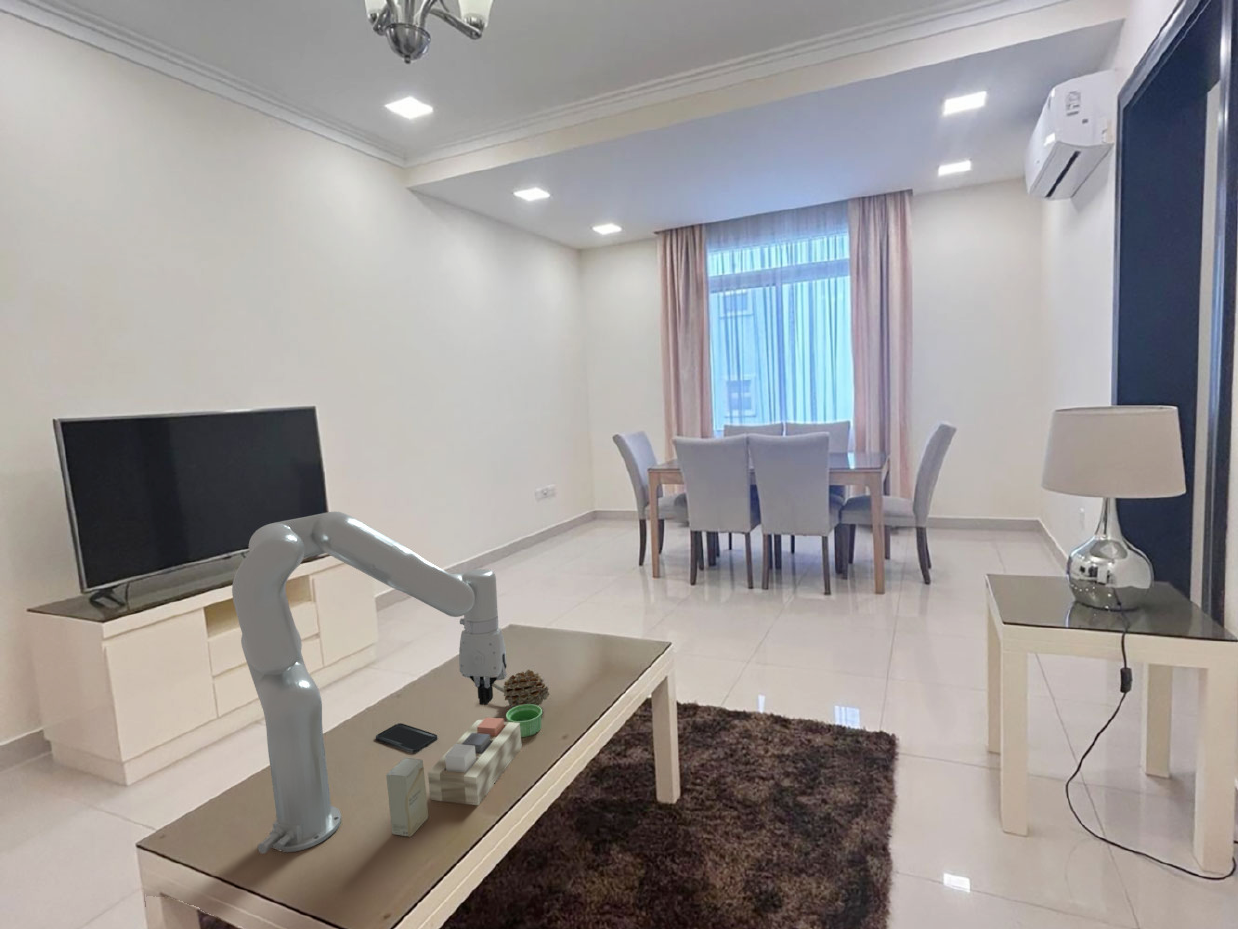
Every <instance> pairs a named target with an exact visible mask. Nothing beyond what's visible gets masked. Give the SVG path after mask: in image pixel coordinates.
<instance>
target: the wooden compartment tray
mask: <svg viewBox="0 0 1238 929" xmlns="http://www.w3.org/2000/svg"><path fill="white" fill-rule="evenodd" d="M483 720H484V719H477V720H476V721H475V722H474V723H473V724H472V725H471V726H469V728H468V729H467V730H466V731H465V732H464V734H463V735H461V736H460V738H459V739H457V741H455V743H454V744H453V745H452V746H451V747H450V748H449V750H447V752H445V754H444V755H443V756H442V757H441V758H440V759H439V760H438V761H437V762H436V763H435V764H434V765H433V767H431V769H430V770H428V772H427V776H428V777H427V778H428V788H429V799H430V800H432V801H439V802H445V803H454V804H455V803H456V804H462V805H463V804H464V805H472V806H480V804H481V803H480V802H482V801H483V800H484V799H485V797H486V796H485V795H488V793H489V792H490V790H491V789H492V788H493V787H494V785H495V784H496V782H497V781H498V780H499V779H500V777H501V776H502V774H503V773H504V772H505V770H506V769H507V768H508V766H509V765H510V764H511V762H512V761H513V759H514V758H515V757H516V755H517V754H518V752H519V751H520V750H521V749H522V747H523V746H522V744H523V743H522V737H521V732H520V723H515V722H508V721H504V729H503V730H502V731H501V732H500V734H499V735H498V736H497V737H491V736H490V740H491V744H490V746H489V747H488V748H487V749H486V750H485V751H484V753H483V754H477V753H475V754H476V762H475V763H474V765H473V766H472V767H471V768H470V769H469V771H468V772H467V773H464V772H455V771H446V761H445V755H446V754H447V753H448V752H449V751H450V750H451V749H452V747H453V746H454V745H455V744H462V743H463V742H464V741H465V740H466V739H467V738H468V736H469V735H470V734H471V733H478V732H477V727H478V725H479V724H480V723H481V722H482V721H483ZM503 771H504V772H503ZM494 783H495V784H494ZM484 796H485V797H484ZM483 798H484V799H483ZM482 799H483V800H482Z"/></svg>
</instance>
